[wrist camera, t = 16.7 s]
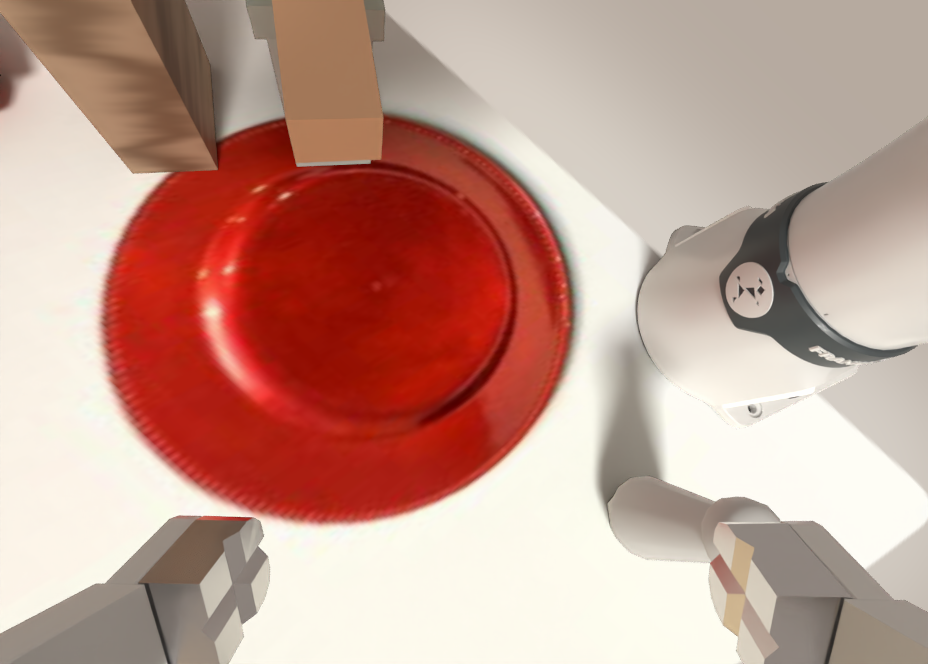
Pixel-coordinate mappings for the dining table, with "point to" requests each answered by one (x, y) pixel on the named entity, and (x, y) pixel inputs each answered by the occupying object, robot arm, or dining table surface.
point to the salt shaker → (675, 520)
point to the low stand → (265, 29)
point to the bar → (328, 80)
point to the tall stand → (129, 75)
